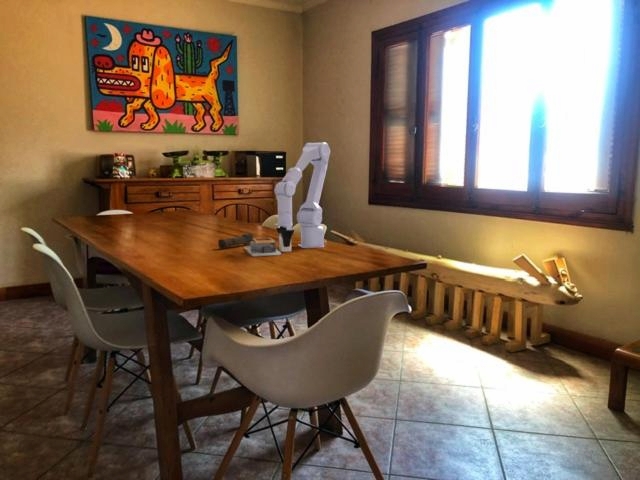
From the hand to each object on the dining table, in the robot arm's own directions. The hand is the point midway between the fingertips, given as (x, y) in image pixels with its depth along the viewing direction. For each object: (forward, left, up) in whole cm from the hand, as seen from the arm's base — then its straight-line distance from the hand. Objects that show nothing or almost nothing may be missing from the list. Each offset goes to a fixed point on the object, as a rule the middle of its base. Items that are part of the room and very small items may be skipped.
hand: (285, 245), depth 207 cm
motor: (+9, 0, -2) cm, 9 cm away
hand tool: (+22, -14, -5) cm, 26 cm away
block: (0, 0, -2) cm, 2 cm away
